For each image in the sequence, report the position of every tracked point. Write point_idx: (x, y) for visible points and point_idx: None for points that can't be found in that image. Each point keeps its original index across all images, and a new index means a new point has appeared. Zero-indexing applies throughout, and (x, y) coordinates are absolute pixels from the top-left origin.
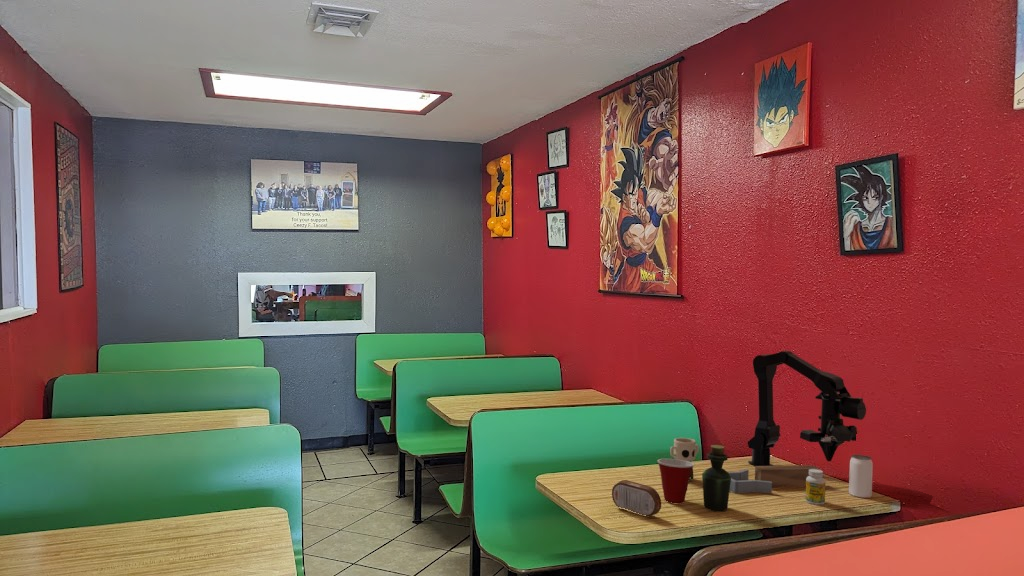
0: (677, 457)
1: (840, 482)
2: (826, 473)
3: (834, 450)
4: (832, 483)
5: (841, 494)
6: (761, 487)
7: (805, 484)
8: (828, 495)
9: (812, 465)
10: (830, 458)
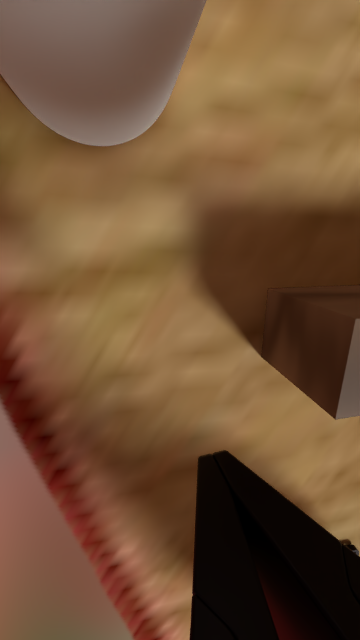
0: None
1: (80, 371)
2: (75, 526)
3: (228, 630)
4: (147, 348)
5: (230, 99)
6: None
7: (352, 287)
8: (329, 91)
9: (337, 417)
10: (224, 476)
